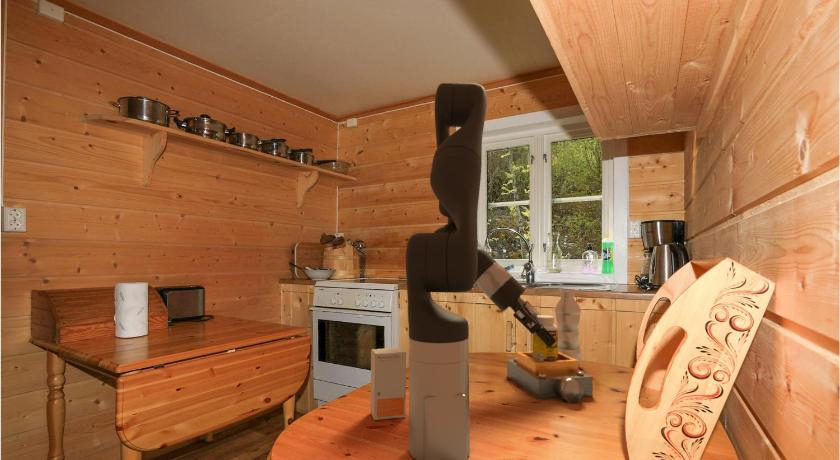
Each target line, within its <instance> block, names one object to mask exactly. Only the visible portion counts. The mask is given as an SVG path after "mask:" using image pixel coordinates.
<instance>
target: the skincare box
mask: <svg viewBox="0 0 840 460" xmlns="http://www.w3.org/2000/svg"><path fill="white" fill-rule="evenodd" d="M370 356H371V357H370V413H371V415H372V416H371V417H372V418H373V421H378V420H391V419H400V418H401V419H403V418H406V413H407V411H406V410H407V409H406V407H407V406H406V404H407V400H406V399H407V391H406V390H407V352H406V351H405V350H404V349H403V348H402V347H385V348H372V349H371V350H370Z"/></svg>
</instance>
